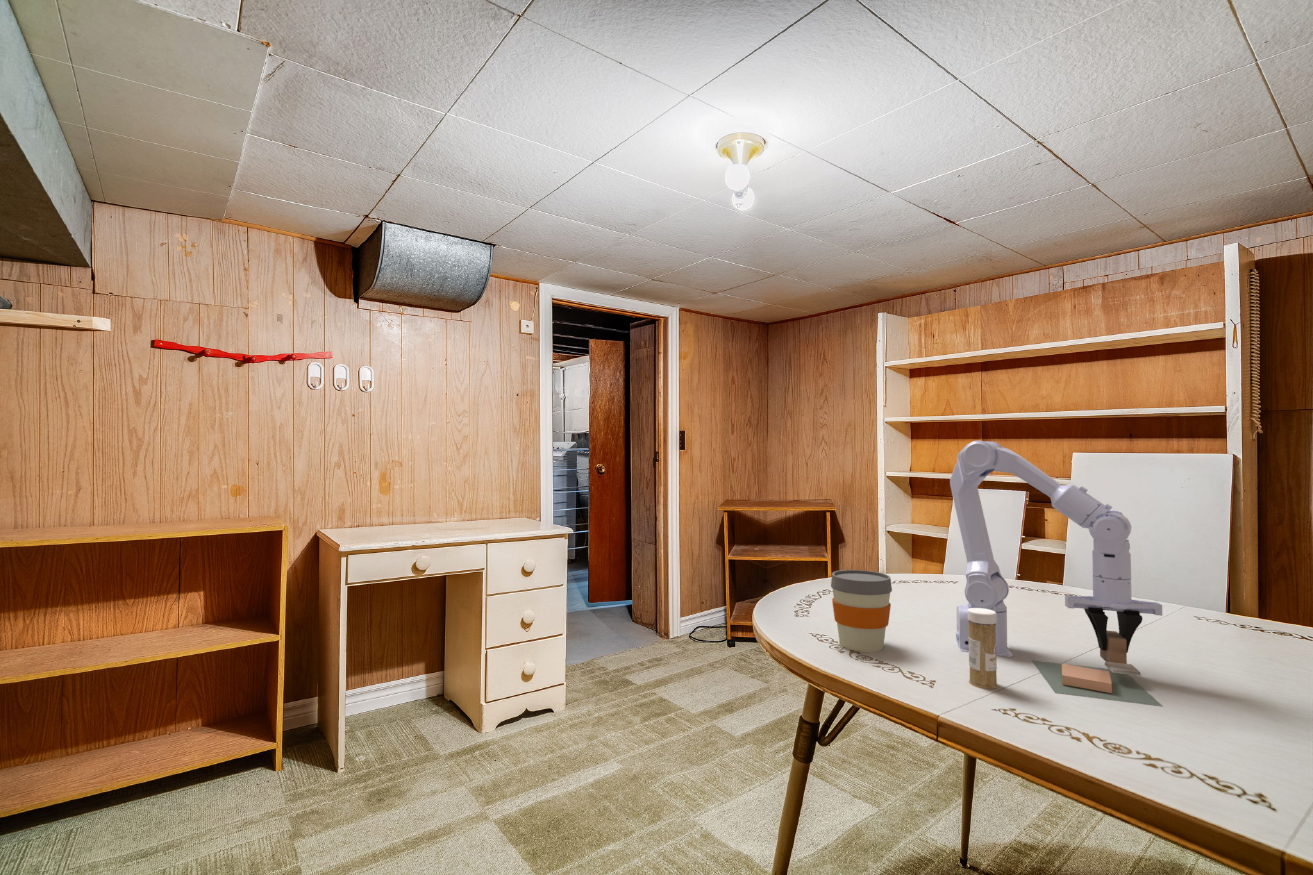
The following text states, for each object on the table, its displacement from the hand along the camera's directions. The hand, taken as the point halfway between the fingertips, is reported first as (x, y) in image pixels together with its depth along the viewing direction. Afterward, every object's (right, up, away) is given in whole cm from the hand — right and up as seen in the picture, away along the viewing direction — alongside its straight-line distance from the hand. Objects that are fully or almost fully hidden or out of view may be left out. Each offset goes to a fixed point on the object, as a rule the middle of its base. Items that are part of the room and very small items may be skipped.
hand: (1113, 649), depth 110 cm
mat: (-7, -5, -3) cm, 9 cm away
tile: (-6, -3, -2) cm, 8 cm away
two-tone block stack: (-1, -2, -2) cm, 3 cm away
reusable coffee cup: (-41, -6, +18) cm, 45 cm away
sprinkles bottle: (-27, -5, -5) cm, 28 cm away
